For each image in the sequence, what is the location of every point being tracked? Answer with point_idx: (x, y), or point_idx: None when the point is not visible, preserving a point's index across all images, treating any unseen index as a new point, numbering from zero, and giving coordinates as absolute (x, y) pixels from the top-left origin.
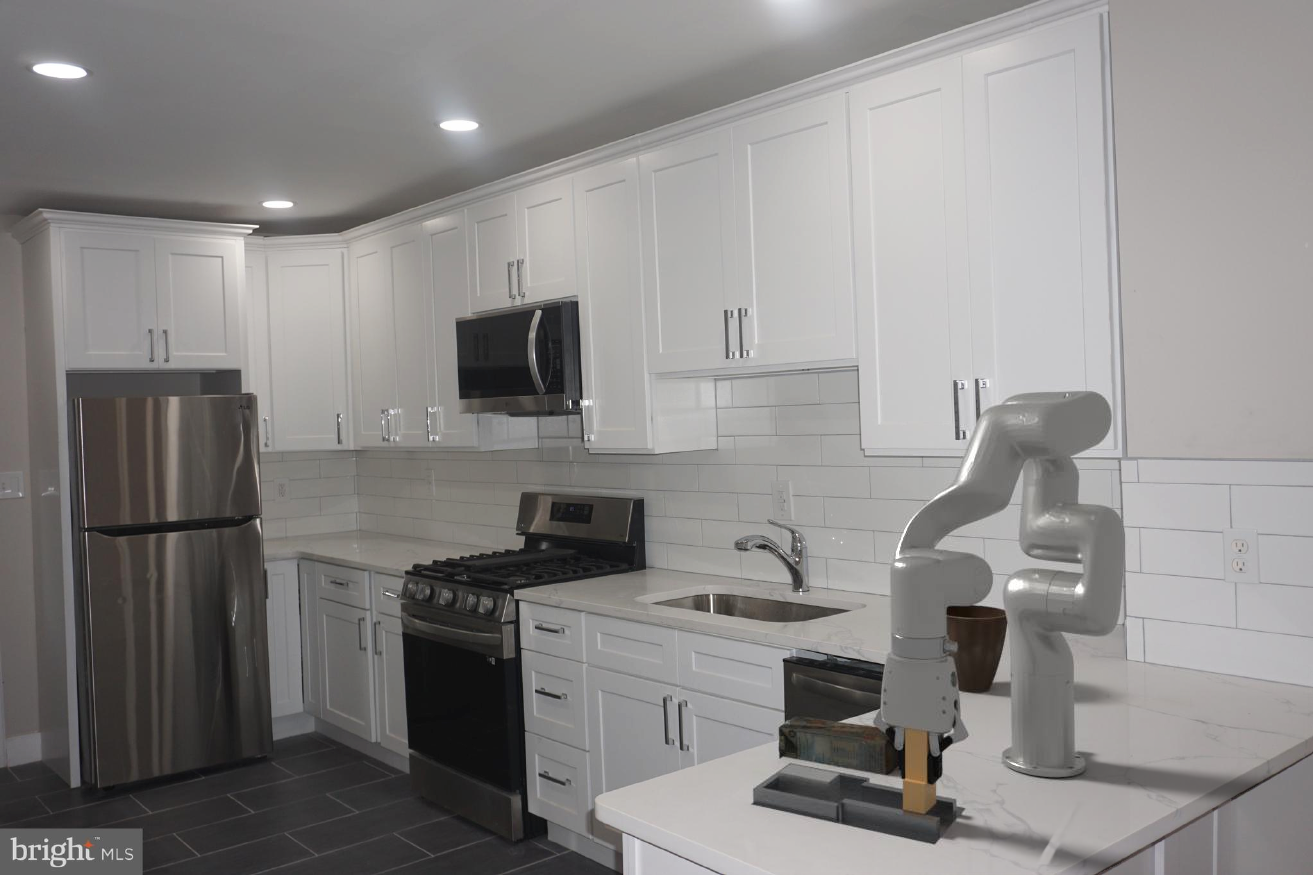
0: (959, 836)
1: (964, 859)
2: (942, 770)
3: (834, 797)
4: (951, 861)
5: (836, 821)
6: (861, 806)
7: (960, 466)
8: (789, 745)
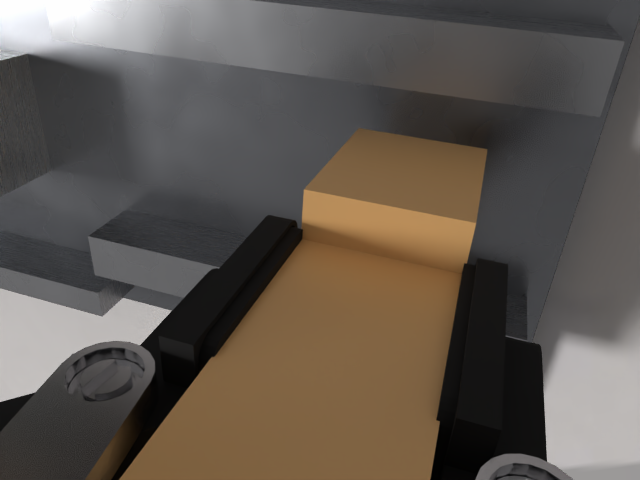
0: (619, 240)
1: (637, 430)
2: (541, 359)
3: (26, 124)
4: (584, 448)
5: (140, 293)
6: (175, 292)
7: None
8: None
